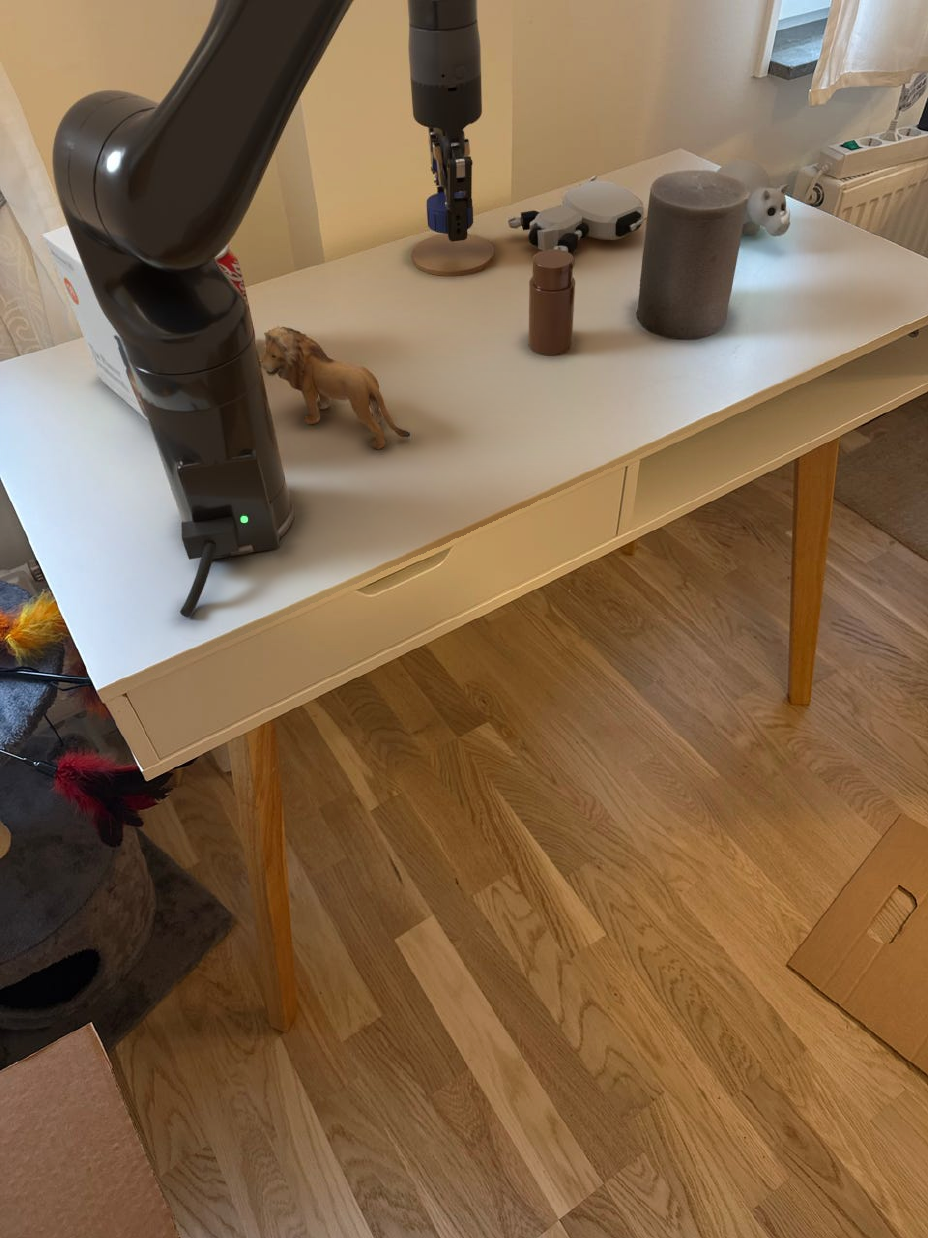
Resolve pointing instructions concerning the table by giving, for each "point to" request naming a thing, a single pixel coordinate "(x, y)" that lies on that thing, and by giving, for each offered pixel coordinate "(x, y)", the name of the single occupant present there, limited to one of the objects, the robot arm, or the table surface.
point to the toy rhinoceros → (760, 198)
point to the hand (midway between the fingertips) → (452, 227)
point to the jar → (551, 302)
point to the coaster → (452, 255)
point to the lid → (442, 213)
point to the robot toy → (584, 216)
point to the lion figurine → (325, 380)
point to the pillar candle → (690, 252)
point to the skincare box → (93, 319)
